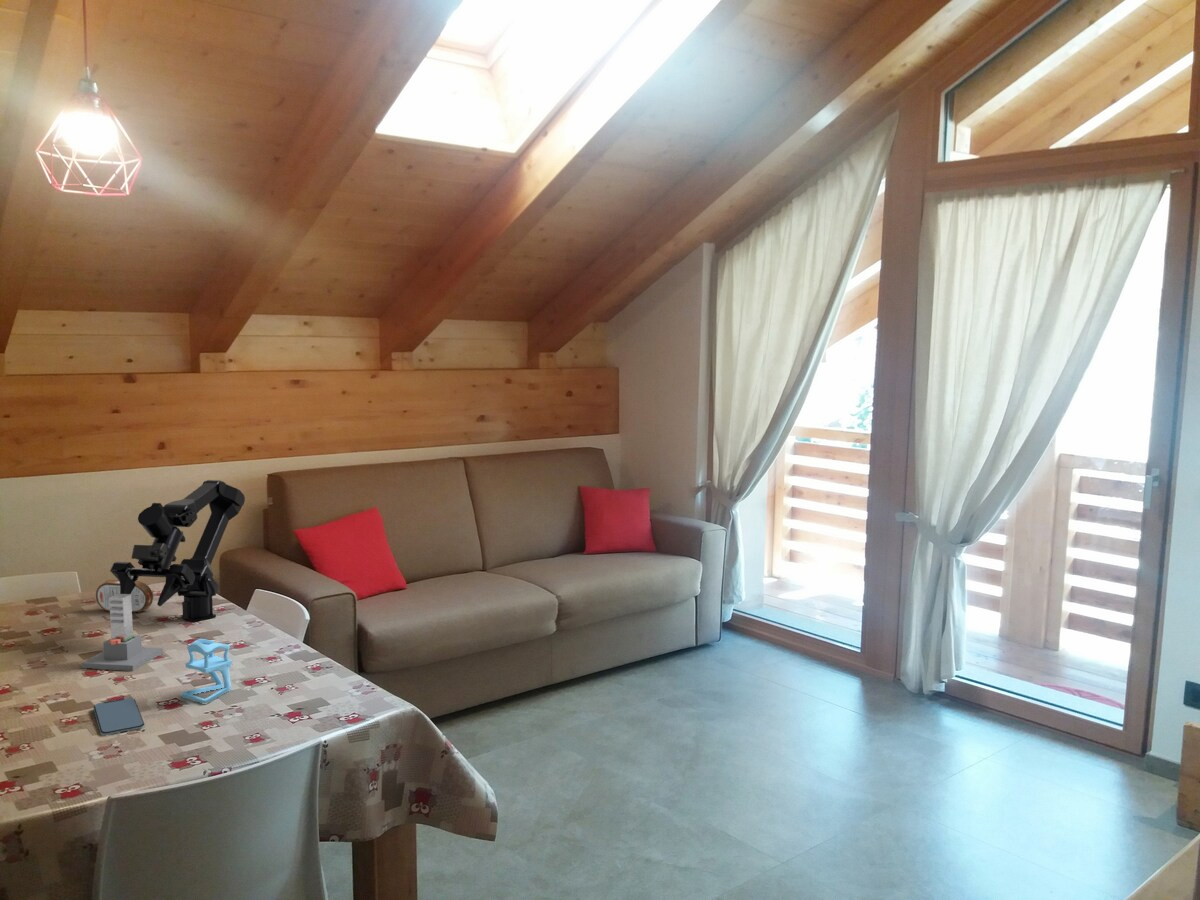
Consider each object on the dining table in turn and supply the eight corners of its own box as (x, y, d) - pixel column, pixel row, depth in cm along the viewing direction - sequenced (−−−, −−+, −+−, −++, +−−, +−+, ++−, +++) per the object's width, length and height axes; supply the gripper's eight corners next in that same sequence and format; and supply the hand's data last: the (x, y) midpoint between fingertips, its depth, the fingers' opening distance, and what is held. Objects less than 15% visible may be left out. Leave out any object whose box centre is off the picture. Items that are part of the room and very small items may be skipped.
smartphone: (100, 733, 174) (92, 703, 186) (101, 741, 174) (92, 711, 187) (145, 724, 178) (134, 696, 190) (146, 732, 178) (134, 703, 191)
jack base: (114, 650, 221) (113, 626, 220) (162, 652, 220) (161, 628, 219) (81, 668, 209) (80, 643, 208) (132, 670, 208) (131, 645, 207)
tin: (154, 611, 253) (153, 580, 252) (147, 614, 250) (146, 583, 248) (101, 608, 254) (100, 578, 253) (94, 611, 251) (92, 581, 250)
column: (119, 637, 216) (117, 593, 214) (133, 638, 215) (131, 594, 214) (109, 643, 212) (107, 598, 211) (124, 643, 212) (121, 598, 210)
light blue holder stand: (239, 692, 197) (237, 637, 195) (204, 705, 190) (203, 647, 188) (215, 685, 201) (213, 630, 199) (180, 697, 194) (178, 640, 192)
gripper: (112, 529, 225) (86, 586, 215) (187, 531, 223) (163, 589, 213) (133, 553, 233) (108, 609, 224) (205, 556, 232) (183, 612, 222)
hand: (140, 604), depth 221 cm, fingers open, 9 cm apart
